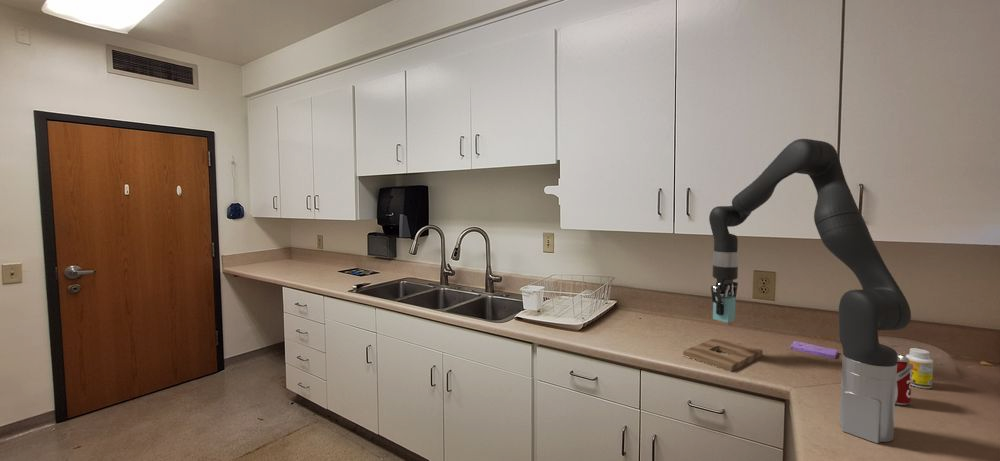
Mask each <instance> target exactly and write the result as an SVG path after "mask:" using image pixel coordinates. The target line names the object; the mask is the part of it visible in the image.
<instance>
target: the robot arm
mask: <svg viewBox="0 0 1000 461" xmlns="http://www.w3.org/2000/svg"><path fill="white" fill-rule="evenodd" d="M795 173H796V174H800V175H808V177H809V178H810V179H811V181H812V183H813V186H814V188H815V190H816V194H817V200H816V204H815V208H814V212H813V220H814V225H815V227H816V230H817V232H818V235H819V237H820V239H821V241H822V244H823V245H824V247H825V248H827V250H828V251H829V252H830V253H831V254H833V255H834V256H835V257H836V258H837V259H838V260H839V261H840V262H842V263H843V264H844V265H845V266H847V268H849V269H850V270H851V271H852V272H853V274H854V275H855V277H856V279H857V280H858V282H859V284H860V285H861V288H862V289H850V290H848V291H845V292H844V293H843V295H842V296H841V297H840V301H839V304H838V328H839V329H838V331H839V332H838V333H839V334H838V336H839V341H840V344H841V347H842V360H841V363H842V364H841V380H840V381H841V383H840V385H841V386H840V401H839V403H840V404H839V405H840V406H839V407H840V408H839V409H840V410H839V425H840V427H841V428H842V429H841V430H842V432H845V433H847V434H849V435H853V436H856V437H858V438H861V439H864V440H865V441H866V440H867V441H870V442H873V443H874V444H879V443H888V442H889V443H890V442H891V441H893V439H894V430H895V413H896V412H895V411H896V405H895V395H896V377H897V360H898V355H899V354H898V353H897V351H896V349H894V348H892V347H890V346H888V345H885V344H882V343H880V341H879V340H880V339H879V331H899V330H903V329H905V328H906V327H907V326H908V325H909V324H910V322H911V319H912V312H911V308H910V307H911V306H910V305H909V302H908V300H907V298H906V296H905V295H904V293H903V291H902V290H901V288H900V286H899V285H898V283H897V281H896V280H895V278H894V277H893V275H892V274H891V272H890V271H889V269H888V267H887V265H886V263H885V262H884V260H883V257H882V256H881V254H880V252H879V250H878V247H877V246H876V243H875V242H874V240H873V238H872V235H871V233H870V230H869V228H868V226H867V223H866V221H865V219H864V217H863V215H862V212H861V211H860V208H859V207H858V205H857V203H856V200H855V198H854V196H853V194H852V192H851V189H850V187H849V185H848V182H847V180H846V177H845V174H844V171H843V167H842V164H841V160H840V157H839V154H838V151H837V150H836V148H835V147H834V145H832V144H831V143H829V142H828V141H823V140H815V139H809V138H798V139H796V140H793V141H791V142H790V143H789V144H788V145H787V146H785V147H784V148H783V149H782V150H781V152H780V153H779V154H778V155H777V156H776V157H775V158H774V159H773V160H772V162H771V163H769V164H768V165H767V167H766V168H765V169H764V170H763V171H762V172H761V174H760V175H758V176H757V177H756V179H754V180H753V181H752V182H751V183H750V184H749V185H748V186H746V187H745V188H743V189H742V190H741V191H740V192H738V193H737V194H736V195H735V196H734V197H733V198H732V200H731V205H720V206H715V207H713V208H712V210H711V211H710V213H709V218H708V220H709V226H710V229H711V233H712V236H713V254H712V277H713V279H716V281H715V282H716V283H715V285H711V286H710V291H711V301H712V303H713V302H714V303H716V314H717V315H723V314H724V305H723V304H724V298H727V296H731V297H732V296H733V297H736V298H737V291H738V285H739V284H738V283H739V282H737V281H734V280H737V279H738V278H739V276H738V275H739V255H738V254H739V253H738V247H739V246H738V243H739V240H738V237H737V235H736V234H733V233H730V232H729V227H732V228H733V227H737V226H739V225H741V224H743V223H744V222H745V221H746V220H747V219H748V217H749V216H750V215H751V214H752V212H754V211H755V210H757V209H758V208H759V207H761V206H762V205H764V204H765V203H767V201H769V199H770V198H771V197H772V196H773V195H774V194H773V193H774V192H775V189H776V187H777V186H778V184H779V183H780V182H782V181H783V180H785V179H786V178H788V177H790V176H791V175H793V174H795ZM721 294H722V295H721ZM715 297H716V299H715ZM721 297H722V300H721Z"/></svg>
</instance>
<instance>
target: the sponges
mask: <svg viewBox="0 0 1000 461" xmlns="http://www.w3.org/2000/svg"><path fill="white" fill-rule="evenodd" d="M790 350H793V351H798V352H802V353H807V354H812V355H816V356H821V357H825V358H830V359H836V357H837V356H838V353H839V350H837V349H834V348H828V347H823V346H821V345H815V344H810V343H806V342H801V341H799V340H794V341H793V343H792V344H791V345H790Z"/></svg>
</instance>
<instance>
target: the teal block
mask: <svg viewBox="0 0 1000 461" xmlns="http://www.w3.org/2000/svg"><path fill="white" fill-rule="evenodd" d="M721 295H723V294H721ZM736 298H737V296H736V297H733V296H732V297H731V296H727V298H724V304H723V305H724V314H723V315H717V314H716V303H714V302H712V320H716V321H719V322H722V323H723V322H724V323H728V324H729V323H731V322H733V321H736ZM715 299H716V297H715ZM721 300H722V297H721Z"/></svg>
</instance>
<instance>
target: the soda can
mask: <svg viewBox="0 0 1000 461" xmlns="http://www.w3.org/2000/svg"><path fill="white" fill-rule="evenodd" d="M897 355H898V360H897V377H896V395H895V406H905V405H909V404H911V401H912V400H911V396H912V386H911V382H912V365H911V364H910V363H909V359H908V358H907V357H906V356H903V355H901V354H897Z"/></svg>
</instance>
